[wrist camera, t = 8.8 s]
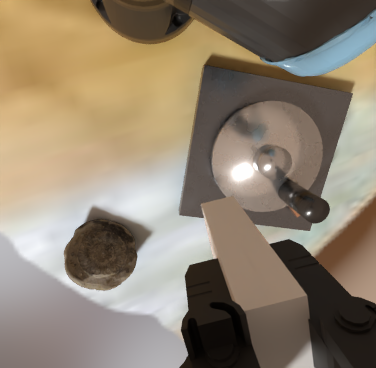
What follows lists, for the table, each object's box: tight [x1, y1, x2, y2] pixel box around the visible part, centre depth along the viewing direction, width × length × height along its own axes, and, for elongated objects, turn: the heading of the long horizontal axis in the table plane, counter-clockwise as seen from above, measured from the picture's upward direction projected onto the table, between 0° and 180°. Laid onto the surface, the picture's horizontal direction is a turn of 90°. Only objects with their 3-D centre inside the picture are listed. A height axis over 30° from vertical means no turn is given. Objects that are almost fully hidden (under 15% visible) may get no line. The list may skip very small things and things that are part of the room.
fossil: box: [64, 219, 137, 290], centre depth 41 cm, size 11×9×10 cm
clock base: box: [179, 65, 353, 231], centre depth 38 cm, size 22×22×7 cm
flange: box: [211, 101, 330, 223], centre depth 35 cm, size 18×16×9 cm
